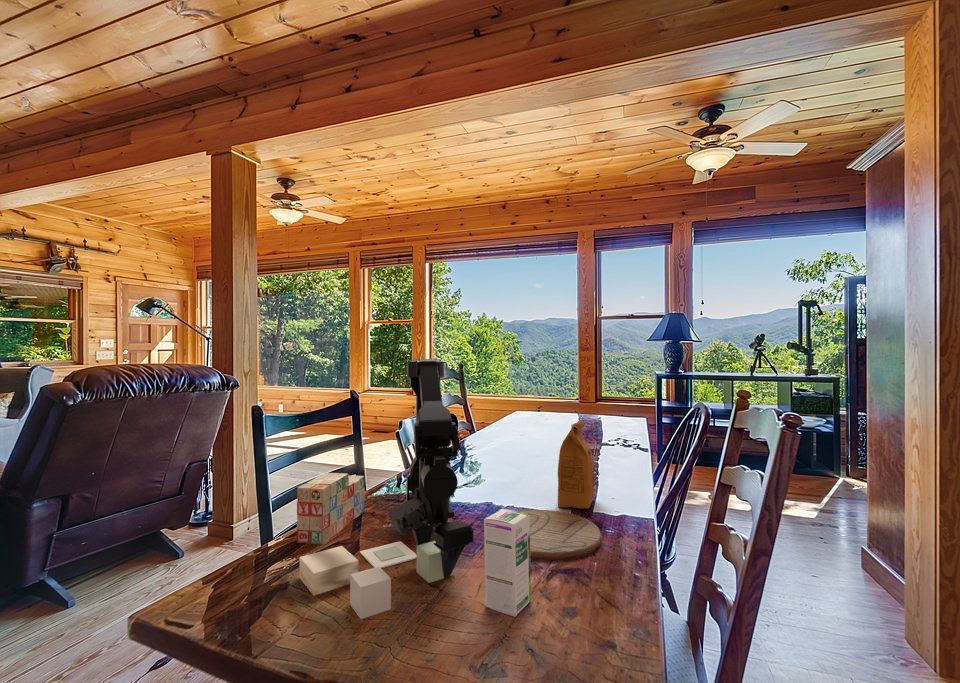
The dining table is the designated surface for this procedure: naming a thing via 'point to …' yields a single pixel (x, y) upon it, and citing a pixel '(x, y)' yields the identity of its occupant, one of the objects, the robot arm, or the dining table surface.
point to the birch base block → (327, 569)
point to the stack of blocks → (328, 506)
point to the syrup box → (507, 561)
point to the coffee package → (575, 471)
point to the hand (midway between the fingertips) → (434, 567)
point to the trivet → (561, 535)
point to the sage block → (429, 562)
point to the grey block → (370, 592)
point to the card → (388, 555)
